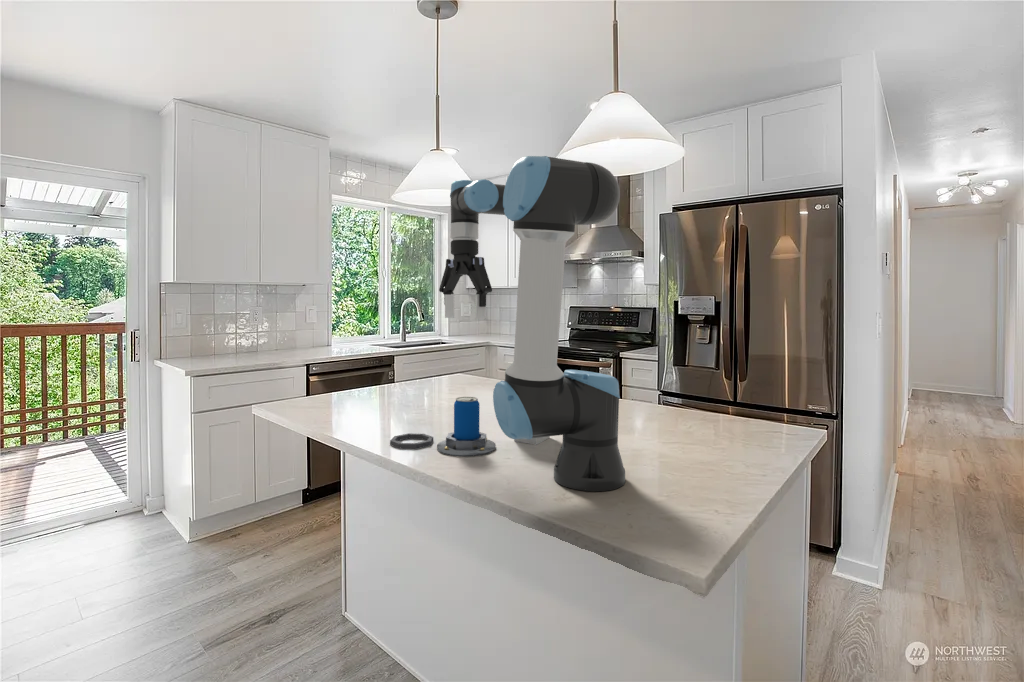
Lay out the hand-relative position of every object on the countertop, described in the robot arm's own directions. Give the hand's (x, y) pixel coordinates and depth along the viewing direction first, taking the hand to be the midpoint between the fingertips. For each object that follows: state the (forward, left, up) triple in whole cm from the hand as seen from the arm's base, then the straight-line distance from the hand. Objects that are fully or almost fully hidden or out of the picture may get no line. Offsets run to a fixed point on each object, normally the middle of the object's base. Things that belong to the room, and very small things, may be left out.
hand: (464, 318), depth 147 cm
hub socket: (-10, +7, -33) cm, 35 cm away
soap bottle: (-16, -12, -33) cm, 39 cm away
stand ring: (+3, +15, -33) cm, 36 cm away
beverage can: (-10, +7, -32) cm, 34 cm away
